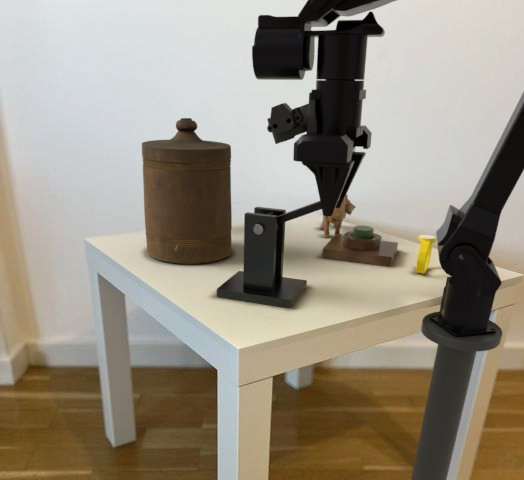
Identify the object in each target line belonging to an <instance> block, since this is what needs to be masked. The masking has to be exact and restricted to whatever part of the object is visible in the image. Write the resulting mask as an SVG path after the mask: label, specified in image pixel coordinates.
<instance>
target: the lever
mask: <svg viewBox="0 0 524 480" xmlns="http://www.w3.org/2000/svg"><path fill="white" fill-rule="evenodd" d="M339 199H340V198H339ZM338 201H339V200H338ZM321 210H322V207H321V202H320V200H318V201H316V202H313V203H310V204H306V205H305V206H301V207H299V208H295V209H293V210H290V211H288V212H287V211H286V213H284V214H282V215H279V216H278V218H277V229H278V228H279V226H278V224H281V223H283V222H285V223H286V222H289V221H292V220H295V219H298V218H301V217H303V216H306V215H309V214H312V213H314V212H318V211H321ZM267 215H274V212H271V213H268V214H267Z"/></svg>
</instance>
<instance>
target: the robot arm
mask: <svg viewBox="0 0 524 480" xmlns="http://www.w3.org/2000/svg"><path fill="white" fill-rule="evenodd" d="M396 1H398V0H307V1H305V4H304V6H303V7H302V8H301V10H300V12H299V13H298V15H297V16H274V15H271V14H259V16H258V17H257V28H256V29H255V34H254V39H253V45H252V46H251V60H252V69H253V73H254V77H255V78H256V79H257V80H258V81H259V80H264V81H266V80H269V81H271V80H272V81H273V80H274V81H277V80H279V81H280V80H282V81H283V80H284V81H302V80H304V77H305V75H306V72H311V71H313V68H314V63H315V49H316V47H315V43H316V42H315V40H316V39H315V38H317V53H316V55H317V56H316V80H315V89H311V91H310V92H309V93H308V103H306V104H304V105H301V106H298V107H294V108H291V106H290V105H289V104H288V103H287V102H284V103H283V102H282V103H279V104H277V105H274V106H272V107H271V110H270V117H269V118H266V119H267V123H268V125H267V128H266V129H267V132H268V133H271V134H272V136H273V140H274V143H275V145H278V144H281V143H284V142H287V141H289V140H292V139H294V138H295V137H296V136H298V135H300V136H299V138H298V139H297V140H295V142H294V143H293V162H301V164H302V165H303V166H304V167H306V168H307V169H308V170H309V171H310V172H311V173H312V174H313V176H314V178H315V182H316V183H315V184H316V186H317V191H318V196H319V201H320V202H321V207H322V209H321V211H322V216H323V215H324V216H332V214H333V212H334V210H335V208H340V207H341V205H342V202H343V200H344V198H345V196H346V194H347V193H348V192H349V189H350V188H351V185H352V183H353V181H354V179H355V177H356V175H357V172H358V171H359V169H360V166H361V165H362V162H363V160H364V159H365V157H366V153H367V152H366V151H356V147H359V148H362V149H363V150H368V149H370V148H371V145H372V135H373V134H372V131H371V130H370V129H369V128H368V127H367V125H362V111H363V101H364V100H365V99H367V98H366V97H367V89H365V74H366V61H367V51H368V50H367V49H368V38H382V37H384V36H385V35H386V34H385V33H386V32H385V29H384V27H382V26H381V25H380V24H379V23H378V21H377V19H376V16H375V13H374V12H373V10H375V9H379V8H381V7H384V6H386V5H388V4H391V3H394V2H396ZM366 12H368V13H367V14H366V16H364V18H363V19H345V20H344V19H342V20H341V19H339V18H340V17H346V18H347V17H353V16H357V15H360V14H363V13H366ZM337 19H339V20H338V21H337V22H336V27H335V29H327V30H326V29H324V30H323V29H322V30H312V28H327V27H329V26H330V25H331V24H332V23H334V22H335V21H336V20H337ZM304 133H305V134H304ZM523 172H524V91H523V92H522V94H521V96H520V98H519V100H518V102H517V104H516V106H515V108H514V110H513V112H512V114H511V115H510V118H509V119H508V122H507V123H506V126H505V128H504V129H503V132H502V134H501V135H500V138H499V139H498V142H497V143H496V145H495V148H494V149H493V152H492V154H491V156H490V158H489V159H488V161H487V163H486V166H485V168H484V170H483V171H482V173H481V176H480V178H479V179H478V181H477V183H476V185H475V187H474V189H473V190H472V191H473V192H472V193H471V195H470V197H469V198H468V199H467V200H466V201H465V202H464V203H463V204H462V206H461V207H460V208H457V207H455V206H454V205H453V204H450V205H449V206H448V209H447V212H446V215H445V219H444V221H443V223H442V224H441V226H440V227H439V228H438V229H437V230H436V231H435V235H436V243H437V253H438V262H439V264H440V267H441V269H442V271H444V273H445V274H446V275H448V276H446V281H445V286H444V287H443V291H442V296H441V302H440V305H439V306H440V307H439V311H438V312H439V313H440V315H431V316H430V320H431V321H433V322H434V323H435V324H437V325H438V326H439V327H441V328H442V329H444V330H445V331H446V332H448V333H449V334H451V335H452V336H453V337H468V336H477V335H486V334H495V333H496V329H495V328H493V327H492V326H490V325H488V323H489V320H490V318H491V314H492V309H493V305H494V302H495V297H496V293H497V291H498V290H499V288H501V286H502V283H503V282H502V280H501V277H500V275H499V273H498V270H497V268H496V265H495V263H494V261H493V259H491V257H490V254H491V252H492V249H493V245H494V243H495V239H496V235H497V231H498V227H499V222H500V220H501V219H500V218H501V215H502V211H503V209H504V207H505V206H506V204H507V202H508V200H509V198H510V197H511V195H512V192H513V191H514V189H515V187H516V185H517V183H518V181H519V180H520V178H521V176H522V174H523ZM347 195H348V194H347ZM339 198H340V199H339ZM338 200H339V201H338Z"/></svg>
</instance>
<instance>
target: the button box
mask: <svg viewBox="0 0 524 480" xmlns="http://www.w3.org/2000/svg"><path fill="white" fill-rule="evenodd" d="M352 235H353V230H351V231H347V232H344V234H343V235H342V236H337V235H335V234H334V235H333V236H332V238H331V239H330V240H329V241H328V242H327V243H326V244H325V245H324V247H323V248H322V256H321V258H322V259H329V260H336V261H345V262H353V263H359V264H367V265H374V266H383V267H391V266H392V264H393V262H394V259H395V257H396V254H397V252H398V246H399V242H396V241H388V240H382V236H381V235H380V234H378V233H375V232H373V238H371V239H361V238H355V237H352Z"/></svg>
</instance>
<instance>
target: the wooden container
mask: <svg viewBox="0 0 524 480" xmlns="http://www.w3.org/2000/svg"><path fill="white" fill-rule="evenodd" d="M175 128H176V130H177V132H176V133H175V135H174V136H173V137H172V138H170V139H155V140H147V141H143V142H142V143H141V156H142V181H143V185H142V186H143V207H144V209H143V211H144V227H145V229H144V230H145V239H146V252H147V254H148V255H149V256H150V257H151V258H153V259H155V260H157V261H162V262H165V263H170V264H181V265H182V264H183V265H194V264H195V265H196V264H197V265H198V264H208V263H212V262H218V261H221V260H224V259H225V258H227V257H229V256H230V255H231V254H232V224H233V223H232V221H233V219H232V217H233V216H232V215H233V214H232V178H231V177H232V172H231V171H232V169H231V168H232V167H231V166H232V164H231V163H232V148H231V147H232V146H231V145H230V144H228V143H227V142H220V141H213V140H203V139H202V138H200V137H199V136H198V135H197V132H196V131H197V129H198V124H197V122H196V121H195V120H193V119H192V118H191V117H182V118H180V120H177V121H176V123H175Z"/></svg>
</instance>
